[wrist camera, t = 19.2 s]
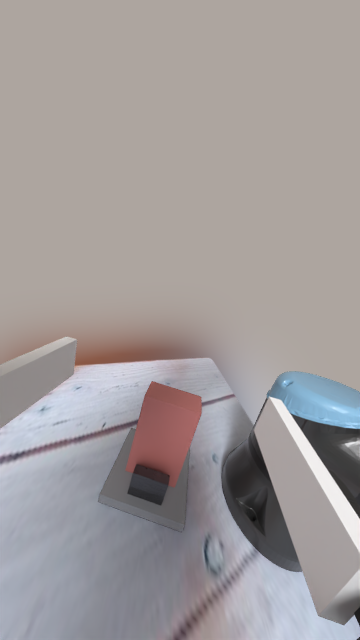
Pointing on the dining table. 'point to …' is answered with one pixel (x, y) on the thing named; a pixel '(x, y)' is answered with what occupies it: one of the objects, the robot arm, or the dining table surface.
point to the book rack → (146, 491)
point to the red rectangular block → (164, 430)
